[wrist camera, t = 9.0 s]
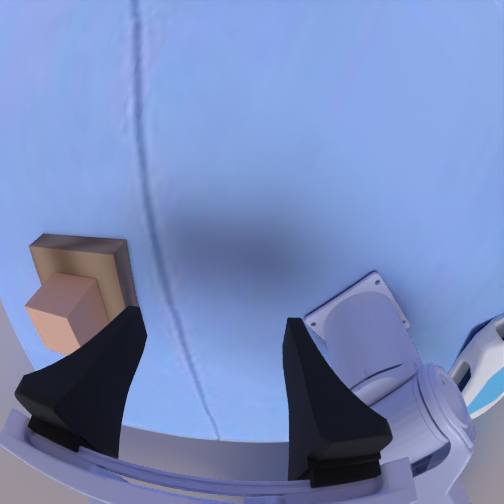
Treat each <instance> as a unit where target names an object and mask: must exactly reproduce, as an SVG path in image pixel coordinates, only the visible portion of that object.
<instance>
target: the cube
mask: <svg viewBox="0 0 504 504" xmlns="http://www.w3.org/2000/svg"><path fill="white" fill-rule="evenodd" d="M25 308H26V310H27V312H28V314H29V317H30V319H31V321H32V323H33V324H34V326H35V328H36V330H37V332H38V334H39V336H40V338H41V339H42V341H43V343H44V345H45V346H46V348H47V349H50V350H53V351H55V352H58V353H61V354H64V355H67V356H68V355H69V354H71V353H73V352H74V351H76V350H77V349H78V348H80V347H81V346H83V345H84V344H85V343H87V342H88V341H89V340H90V339H91V338H93V337H94V336H95V335H96V334H97V333H99V332H100V331H101V330H102V329H103V328H104V327H105V326H107V325H108V324H109V320H108V317H107V314H106V311H105V308H104V305H103V301H102V298H101V295H100V292H99V288H98V285H97V281H96V279H94V278H87V277H81V276H74V275H68V274H62V273H56V272H54V273H53V274H52V275H51V276H50V277H49V279H48V280H47V281H46V282H45V283H44V284H43V285H42V286H41V287H40V289H39V290H38V291H37V292H36V293H35V294H34V295H33V297H32V298H31V299H30V300H29V301H28V303H27V304H26V305H25Z"/></svg>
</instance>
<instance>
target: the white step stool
mask: <svg viewBox="0 0 504 504" xmlns="http://www.w3.org/2000/svg"><path fill="white" fill-rule="evenodd" d="M503 337H504V313H503V314H501V315H498V316H496V317H494V318H493V319H492V320H491V321H490V322H489V323H488V324H487V325H486V326H485V327H484V328H483V329H481V330H480V331H479V332H478V333H477V334H476V335H475V336H474V337H473V339H472V340H471V341H470V342H469V344H468V345H467V346H466V347H465V349H464V350H463V351H462V352H461V353H460V355H459V356H458V357H457V358H456V360H455V362H454V364H453V365H452V367H451V369H450V371H449V373H448V374H449V375H450V376H451V378H452V379H453V380H454V382H455V383H456V385H457V386H458V385H459V383H460V382H461V380H462V379H463V377H464V376H465V374H466V372H467V371H468V370H469V368H470V370H471V378H470V380H469V381H468V383H467V385H466V386H465V388H464V389H463V391H462V392H461V394H462V396H463V398H464V401H465V403H466V406H467V409H468V413H469V415H470V417H471V419H474V418H476V417H477V416H479V415H481V414H483V413H484V412H486V411H487V410H488V409H489V408H491V407H492V406H493V405H494V404H495V403H496V402H497V401H499V400H500V399H501V398H502V397H503V396H504V341H503V340H502V339H501V338H503Z"/></svg>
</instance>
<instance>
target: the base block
mask: <svg viewBox="0 0 504 504" xmlns="http://www.w3.org/2000/svg"><path fill="white" fill-rule="evenodd" d="M29 248H30V252H31V255H32V258H33V261H34V264H35V267H36V270H37V273H38V276H39V279H40V282H41V285H43V284H44V283H45V282H46V281H47V280H48V279H49V277H50V276H51V275H52V274H53V273H54V272H56V273H62V274H68V275H74V276H81V277H87V278H94V279H96V281H97V285H98V288H99V292H100V295H101V298H102V301H103V305H104V308H105V311H106V314H107V317H108V320H109V323H110V322H111V321H112V320H113V319H114V318H115V317H116V316H117V315H119V314H120V313H121V312H122V311H123V310H124V309H125V308H126V307H127V306H137V307H139V306H138V301H137V297H136V292H135V287H134V282H133V277H132V272H131V266H130V261H129V255H128V248H127V242H126V240H123V239H109V238H95V237H81V236H67V235H52V234H43V235H41V236H40V237H39V238H38V239H37V240H35V241H34V242H33V243H32V244H31V245H29Z"/></svg>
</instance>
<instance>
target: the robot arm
mask: <svg viewBox="0 0 504 504" xmlns="http://www.w3.org/2000/svg"><path fill="white" fill-rule="evenodd" d="M377 280H379V281H378V282H376V281H377ZM313 322H315V323H313ZM305 323H306V324H307V325H308V326H309V327H310V328H311V329H312V330H313V331H314V332H315V333H316V334H318V335H319V336H320V337H321V338H322V339H323V340H324V341H325V342H326V343H327V347H328V351H329V355H330V360H331V364H332V369H333V370H332V369H331V367H330V366H329V364H328V363H327V362H326V360H325V359H324V357H323V356H322V354H321V353H320V351H319V350H318V348H317V346H316V345H315V343H314V341H313V340H312V338H311V336H310V334H309V332H308V331H307V329H306V327H305V324H304V322H303V320H302V319H301V318H288V319H287V324H286V330H285V335H284V341H283V346H282V347H283V369H284V377H285V384H286V391H287V398H288V407H289V467H288V481H274V482H273V481H272V482H271V481H270V482H259V481H257V482H256V481H233V480H220V479H210V478H202V477H194V476H188V475H181V474H176V473H171V472H165V471H161V470H156V469H152V468H148V467H144V466H140V465H136V464H132V463H129V462H125V461H122V460H119V459H118V453H119V439H120V431H121V423H122V418H123V412H124V407H125V403H126V398H127V394H128V391H129V388H130V385H131V382H132V380H133V377H134V375H135V372H136V369H137V367H138V364H139V362H140V359H141V357H142V354H143V351H144V347H145V343H146V339H147V333H146V329H145V326H144V322H143V319H142V315H141V311H140V307H137V306H127V307H126V308H125V309H124V310H123V311H122V312H121V313H120V314H119V315H117V316H116V317H115V318H114V319H113V320H112V321H111V322H110V323H109V324H108V325H107V326H105V327H104V328H103V329H102V330H101V331H100V332H99V333H97V334H96V335H95V336H94V337H93V338H91V339H90V340H89V341H88V342H87V343H85V344H84V345H83V346H81V347H80V348H78V349H77V350H76V351H74V352H73V353H71V354H69V355H68V356H66V357H64V358H63V359H61V360H59V361H58V362H56V363H54V364H52V365H50V366H47V367H45V368H43V369H41V370H38V371H35V372H33V373H30V374H27V375H24V376H23V378H22V380H21V382H20V384H19V385H18V387H17V389H16V391H15V397H16V398H17V400H18V401H19V402H20V403H21V404H22V405H23V406H24V407H25V408H26V409H27V411H29V413H31V414H32V417H31V419H30V418H28V417H27V416H25V415H24V414H22V413H20V412H18V411H17V410H15V409H12V410H11V412H10V414H9V416H8V418H7V421H6V423H5V425H4V427H3V429H2V432H1V434H0V445H1V446H2V447H4V448H5V449H6V450H8V451H9V452H10V453H12V454H13V455H15V456H16V457H18V458H19V459H20V460H22V461H23V462H25V463H27V464H28V465H30V466H31V467H33V468H35V469H36V470H38V471H40V472H41V473H43V474H45V475H46V476H48V477H50V478H52V479H54V480H55V481H57V482H60V483H61V484H63V485H65V486H67V487H69V488H71V489H74V490H75V491H78V492H80V493H82V494H84V495H87V496H89V497H88V502H87V504H471V502H470V500H469V498H468V496H467V494H466V492H465V490H464V488H463V486H462V484H461V482H460V480H459V478H458V476H459V475H460V473H461V472H462V470H463V469H464V467H465V466H466V464H467V462H468V461H469V459H470V457H471V455H472V453H473V451H474V448H475V439H476V431H475V425H474V423H473V421H472V419H471V417H470V415H469V413H468V409H467V406H466V403H465V401H464V398H463V396H462V394H461V392H460V390H459V388H458V387H457V385H456V383H455V382H454V380H453V379H452V378H451V376H450V375H449V374H448V373H447V372H446V371H445V370H444V369H443V368H442V367H441V366H439V365H433V364H430V363H427V364H425V365H423V363H422V361H421V358H420V356H419V354H418V352H417V350H416V348H415V346H414V344H413V342H412V340H411V338H410V336H409V334H408V332H407V330H406V329H408V328H409V326H410V324H409V322H408V320H407V318H406V317H405V315H404V313H403V311H402V310H401V308H400V306H399V305H398V303H397V302H396V300H395V298H394V297H393V295H392V293H391V292H390V290H389V289H388V287H387V286H386V284H385V282H384V281H383V279H382V278H381V276H380V275H379V273H378V272H373V273H371V274H370V275H368V276H367V277H366V278H364V279H363V280H361V281H360V282H358V283H357V284H355V285H354V286H353V287H351V288H350V289H348V290H347V291H345V292H344V293H342V294H341V295H339V296H338V297H336V298H335V299H333V300H332V301H330V302H328V303H327V304H325V305H324V306H322V307H321V308H319V309H317V310H316V311H314V312H313V313H311V314H310V315H308V316H306V317H305ZM104 469H105V470H104ZM109 471H110V472H109ZM111 472H113V473H111ZM114 473H116V474H120V475H123V476H126V477H129V478H133V479H136V480H140V481H144V482H148V483H152V484H156V485H161V486H165V487H170V488H175V489H181V490H187V491H193V492H201V493H208V494H218V495H230V496H250V497H246V498H244V503H234V502H224V501H216V500H209V499H202V498H196V497H191V496H185V495H180V494H174V493H170V492H165V491H160V490H156V489H151V488H147V487H143V486H139V485H135V484H132V483H130V482H128V481H126V480H124V479H123V478H122V477H121V476H118V475H116V474H114Z"/></svg>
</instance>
